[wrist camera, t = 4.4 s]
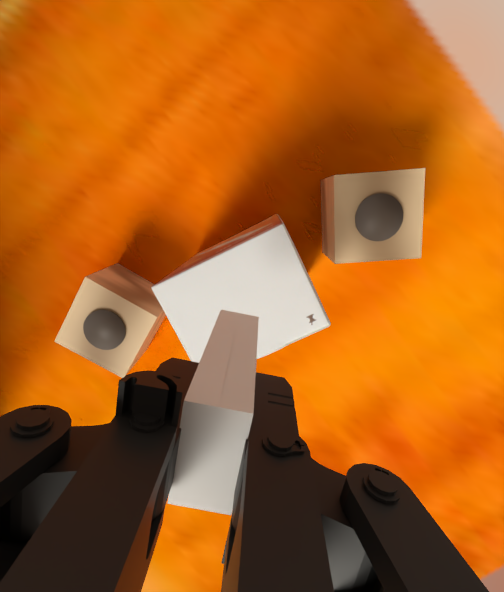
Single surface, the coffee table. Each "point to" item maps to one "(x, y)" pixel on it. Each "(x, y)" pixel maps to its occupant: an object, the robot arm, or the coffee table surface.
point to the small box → (244, 290)
